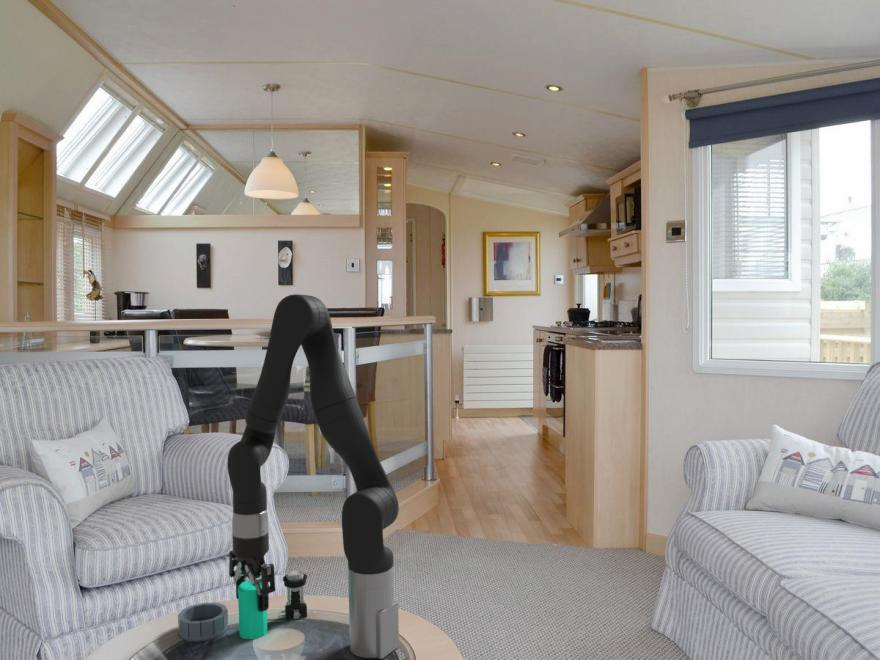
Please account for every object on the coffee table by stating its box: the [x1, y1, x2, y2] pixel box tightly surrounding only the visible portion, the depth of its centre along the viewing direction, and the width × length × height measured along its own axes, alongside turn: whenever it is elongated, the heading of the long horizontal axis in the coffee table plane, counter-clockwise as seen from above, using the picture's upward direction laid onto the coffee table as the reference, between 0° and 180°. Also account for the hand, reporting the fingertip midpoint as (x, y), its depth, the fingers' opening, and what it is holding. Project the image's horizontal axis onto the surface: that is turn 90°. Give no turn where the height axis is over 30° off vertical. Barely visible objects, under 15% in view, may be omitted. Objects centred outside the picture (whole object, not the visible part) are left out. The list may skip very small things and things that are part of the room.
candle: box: [237, 579, 268, 640], centre depth 162 cm, size 6×6×12 cm
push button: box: [277, 569, 308, 620], centre depth 169 cm, size 7×5×10 cm
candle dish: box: [177, 602, 229, 643], centre depth 163 cm, size 10×10×4 cm
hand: (252, 604), depth 162 cm, fingers open, 8 cm apart
